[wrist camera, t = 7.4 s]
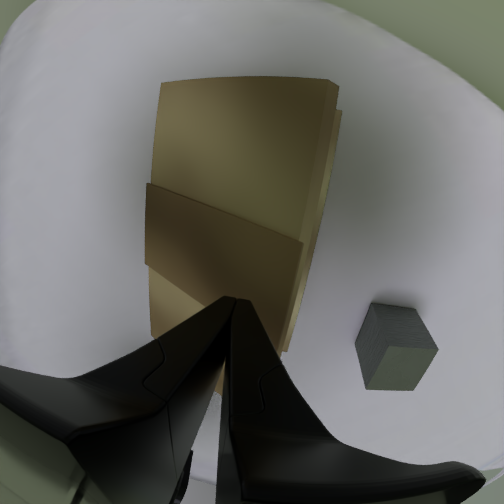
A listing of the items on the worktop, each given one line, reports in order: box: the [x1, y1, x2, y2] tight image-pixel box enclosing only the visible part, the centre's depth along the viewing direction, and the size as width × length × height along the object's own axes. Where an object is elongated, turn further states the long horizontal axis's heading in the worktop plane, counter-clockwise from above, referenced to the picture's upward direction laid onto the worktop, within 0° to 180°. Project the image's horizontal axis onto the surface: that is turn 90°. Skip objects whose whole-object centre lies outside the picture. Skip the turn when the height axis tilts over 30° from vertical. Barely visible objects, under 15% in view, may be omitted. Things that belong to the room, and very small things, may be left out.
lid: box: [145, 76, 339, 396], centre depth 13 cm, size 14×9×1 cm
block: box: [355, 303, 439, 391], centre depth 19 cm, size 4×4×5 cm
